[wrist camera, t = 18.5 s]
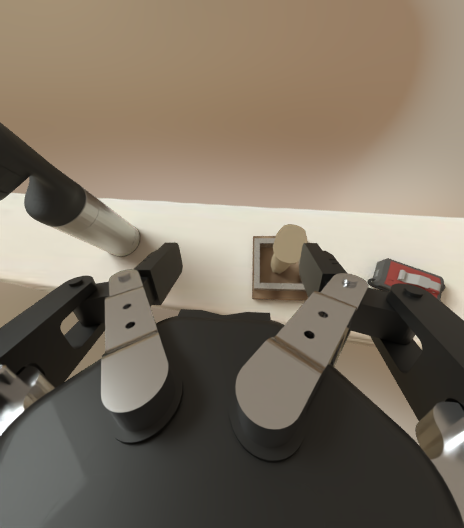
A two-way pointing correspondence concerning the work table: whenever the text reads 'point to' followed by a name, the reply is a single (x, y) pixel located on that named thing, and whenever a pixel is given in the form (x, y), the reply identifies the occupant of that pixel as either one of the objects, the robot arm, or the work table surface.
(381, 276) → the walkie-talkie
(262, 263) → the board
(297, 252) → the handle
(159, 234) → the work table surface
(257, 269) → the collar
